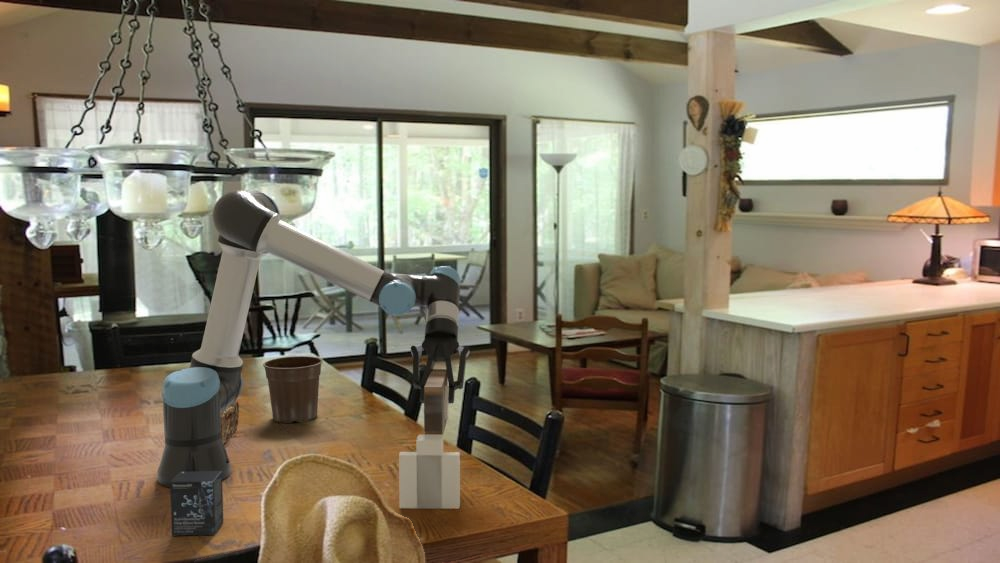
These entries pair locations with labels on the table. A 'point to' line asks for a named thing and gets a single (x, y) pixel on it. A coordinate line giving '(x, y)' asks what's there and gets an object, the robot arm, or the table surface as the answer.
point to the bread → (229, 421)
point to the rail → (435, 402)
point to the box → (196, 503)
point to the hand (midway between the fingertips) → (436, 415)
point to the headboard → (429, 475)
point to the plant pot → (293, 387)
